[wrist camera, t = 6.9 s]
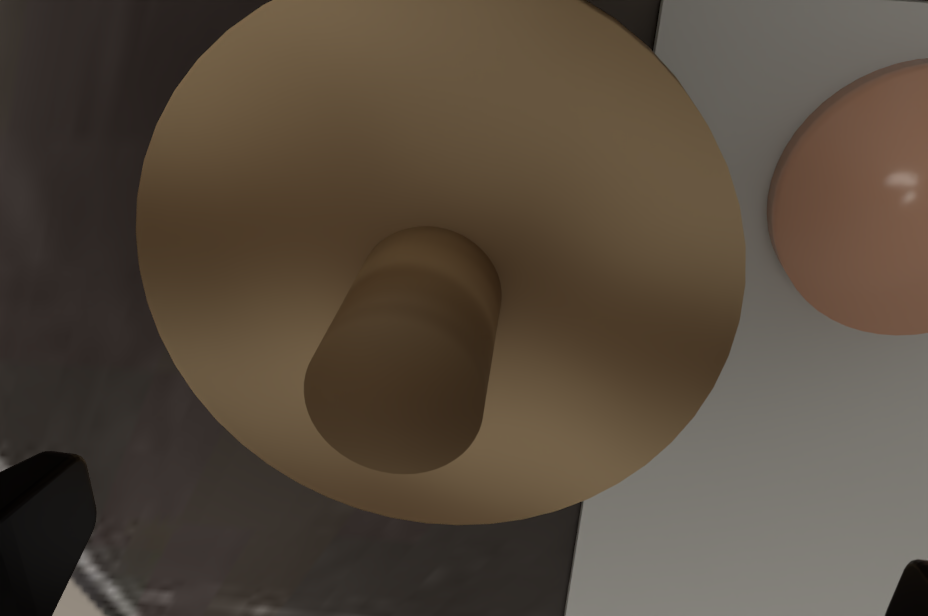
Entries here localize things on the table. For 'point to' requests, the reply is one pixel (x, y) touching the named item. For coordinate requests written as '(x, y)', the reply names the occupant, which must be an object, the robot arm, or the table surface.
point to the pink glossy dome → (859, 203)
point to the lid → (441, 251)
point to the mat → (774, 368)
